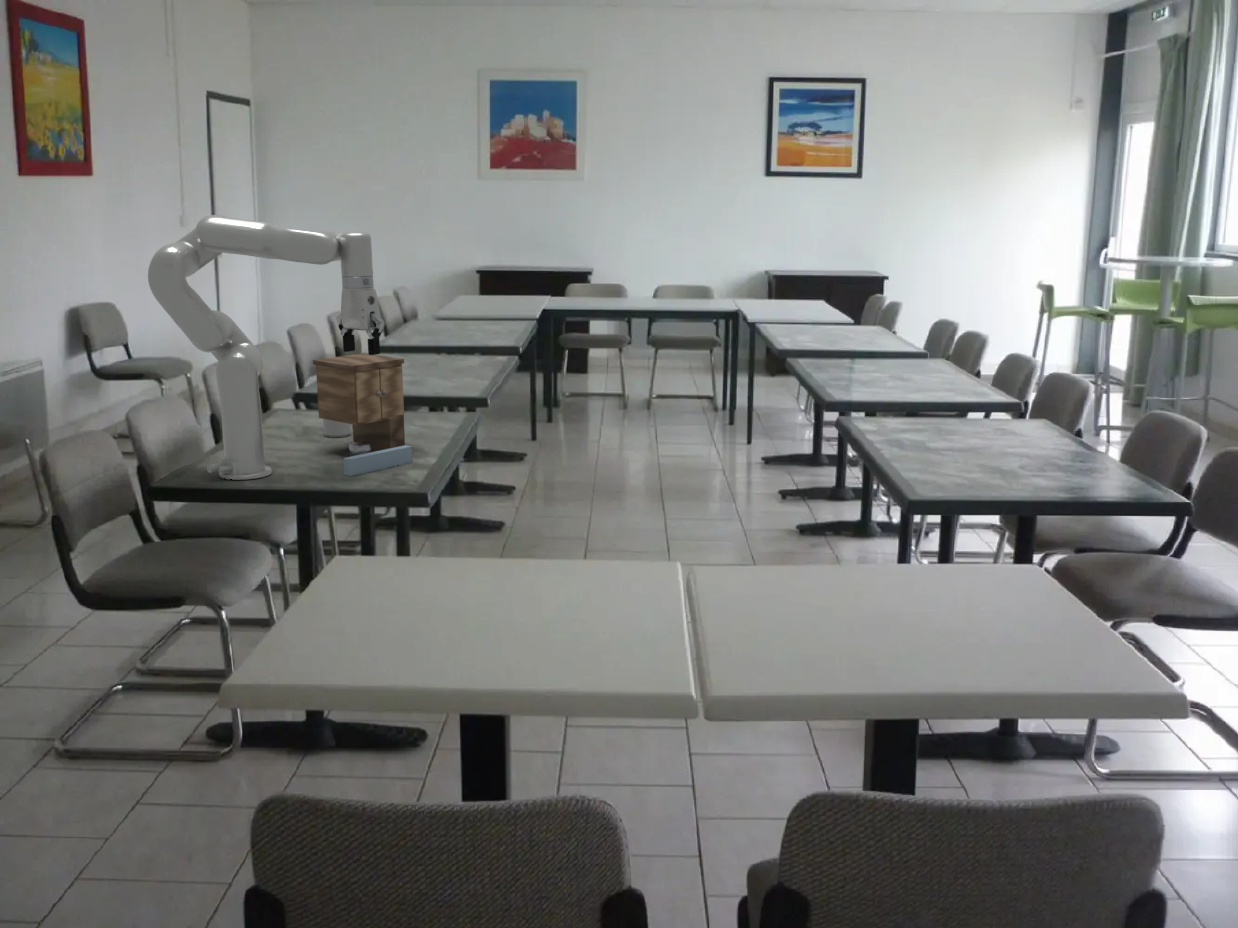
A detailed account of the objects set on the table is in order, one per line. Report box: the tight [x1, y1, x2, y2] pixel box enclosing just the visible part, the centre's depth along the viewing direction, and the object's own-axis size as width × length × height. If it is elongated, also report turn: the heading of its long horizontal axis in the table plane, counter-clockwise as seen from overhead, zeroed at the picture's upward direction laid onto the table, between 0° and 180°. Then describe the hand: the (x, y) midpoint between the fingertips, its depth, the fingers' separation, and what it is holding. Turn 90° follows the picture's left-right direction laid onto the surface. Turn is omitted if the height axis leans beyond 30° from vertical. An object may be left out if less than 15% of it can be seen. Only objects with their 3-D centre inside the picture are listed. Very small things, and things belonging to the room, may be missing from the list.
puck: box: [348, 441, 373, 457], centre depth 330 cm, size 6×6×4 cm
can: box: [322, 419, 352, 439], centre depth 355 cm, size 8×8×12 cm
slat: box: [342, 444, 413, 477], centre depth 315 cm, size 20×2×4 cm, turn 140°
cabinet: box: [312, 352, 406, 452], centre depth 332 cm, size 17×18×25 cm
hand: (361, 352), depth 306 cm, fingers open, 9 cm apart
